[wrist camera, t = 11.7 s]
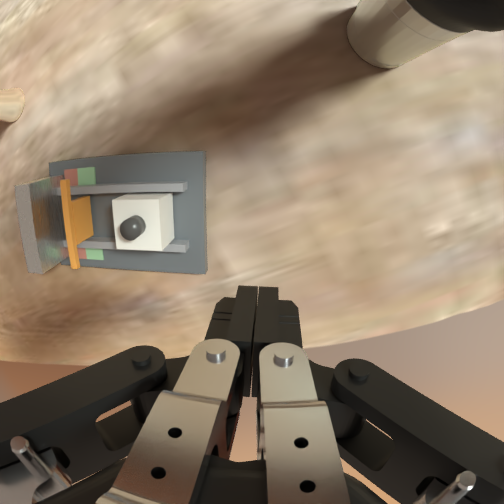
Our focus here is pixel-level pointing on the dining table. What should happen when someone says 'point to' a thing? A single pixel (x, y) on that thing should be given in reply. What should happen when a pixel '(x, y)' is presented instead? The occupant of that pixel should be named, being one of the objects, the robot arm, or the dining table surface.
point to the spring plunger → (143, 220)
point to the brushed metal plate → (41, 223)
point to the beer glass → (11, 104)
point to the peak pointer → (75, 221)
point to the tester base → (141, 180)
